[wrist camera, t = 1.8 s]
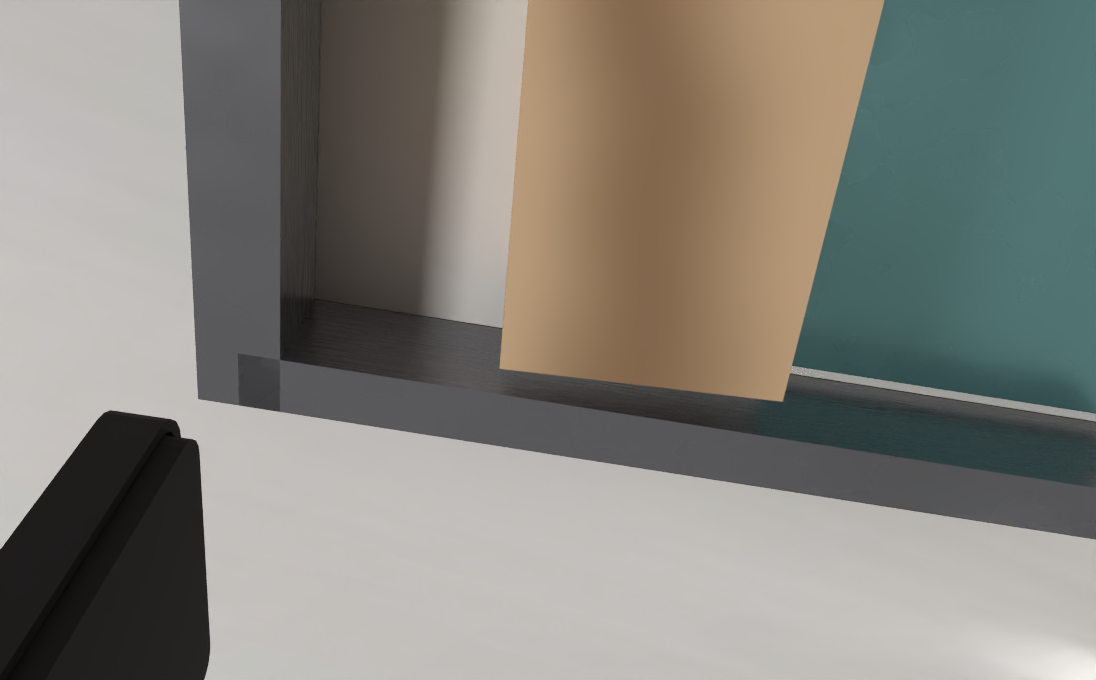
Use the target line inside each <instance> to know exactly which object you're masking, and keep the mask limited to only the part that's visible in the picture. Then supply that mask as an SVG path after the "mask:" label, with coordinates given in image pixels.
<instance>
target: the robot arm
mask: <svg viewBox="0 0 1096 680" xmlns="http://www.w3.org/2000/svg"><path fill="white" fill-rule="evenodd" d="M209 655H210V634H209V616H208V598H207V580H206V562H205V544H204V526H203V509H202V491H201V473H200V455H199V447H198V444H197V442H196V441H195V440H193V439H187V438H181V435H180V429H179V426H178V424H177V422H176V421H174V420H172V419H165V418H158V417H152V416H145V415H138V414H132V413H125V412H118V411H108V412H105V413H104V414H103V415H102V416H101V417H100V418H99V419H98V420H97V421H96V422H95V424H94V425H93V426H92V428H91V429H90V430H89V432H88V433H87V434H86V436H85V437H84V438H83V440H82V441H81V442H80V444H79V445H78V446H77V448H76V449H75V450H74V452H73V453H72V454H71V456H70V457H69V458H68V460H67V461H66V462H65V464H64V465H63V466H62V468H61V469H60V471H59V472H58V473H57V475H56V476H55V477H54V479H53V480H52V481H51V483H50V484H49V485H48V487H47V488H46V489H45V491H44V492H43V493H42V495H41V496H40V497H39V499H38V500H37V501H36V503H35V504H34V505H33V507H32V508H31V509H30V511H29V512H28V513H27V515H26V516H25V517H24V519H23V520H22V521H21V523H20V524H19V525H18V527H17V528H16V529H15V531H14V532H13V534H12V535H11V536H10V538H9V539H8V540H7V542H6V543H5V544H4V546H3V547H2V548H1V549H0V680H204V678H205V675H206V671H207V667H208V662H209Z"/></svg>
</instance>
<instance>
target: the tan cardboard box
mask: <svg viewBox="0 0 1096 680" xmlns="http://www.w3.org/2000/svg"><path fill="white" fill-rule="evenodd" d="M884 1H885V0H528V12H527V24H526V37H525V50H524V63H523V75H522V88H521V101H520V114H519V126H518V139H517V152H516V164H515V177H514V190H513V203H512V215H511V228H510V241H509V253H508V266H507V279H506V292H505V304H504V317H503V330H502V343H501V355H500V368H499V369H507V370H515V371H524V372H533V373H541V374H550V375H558V376H567V377H575V378H584V379H592V380H601V381H609V382H618V383H627V384H635V385H644V386H652V387H661V388H669V389H678V390H686V391H695V392H703V393H712V394H721V395H729V396H738V397H746V398H755V399H763V400H772V401H780V402H783V398H784V394H785V391H786V387H787V383H788V379H789V375H790V371H791V367H792V363H793V359H794V355H795V351H796V347H797V343H798V339H799V335H800V331H801V328H802V324H803V320H804V316H805V312H806V308H807V304H808V300H809V296H810V292H811V288H812V284H813V280H814V276H815V272H816V268H817V264H818V261H819V257H820V253H821V249H822V245H823V241H824V237H825V233H826V229H827V225H828V221H829V217H830V213H831V209H832V205H833V201H834V198H835V194H836V190H837V186H838V182H839V178H840V174H841V170H842V166H843V162H844V158H845V154H846V150H847V146H848V142H849V138H850V135H851V131H852V127H853V123H854V119H855V115H856V111H857V107H858V103H859V99H860V95H861V91H862V87H863V83H864V79H865V75H866V72H867V68H868V64H869V60H870V56H871V52H872V48H873V44H874V40H875V36H876V32H877V28H878V24H879V20H880V16H881V12H882V9H883V5H884Z"/></svg>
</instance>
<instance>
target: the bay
mask: <svg viewBox="0 0 1096 680" xmlns="http://www.w3.org/2000/svg"><path fill="white" fill-rule="evenodd" d="M179 10H180V30H181V51H182V72H183V93H184V113H185V134H186V155H187V175H188V196H189V217H190V238H191V258H192V279H193V300H194V320H195V341H196V362H197V383H198V399H202V400H208V401H215V402H221V403H227V404H234V405H240V406H247V407H253V408H259V409H266V410H272V411H279V412H285V413H291V414H298V415H304V416H310V417H317V418H323V419H330V420H336V421H342V422H349V423H355V424H362V425H368V426H374V427H381V428H387V429H394V430H400V431H406V432H413V433H419V434H425V435H432V436H438V437H445V438H451V439H457V440H464V441H470V442H477V443H483V444H489V445H496V446H502V447H509V448H515V449H521V450H528V451H534V452H541V453H547V454H553V455H560V456H566V457H572V458H579V459H585V460H592V461H598V462H604V463H611V464H617V465H624V466H630V467H636V468H643V469H649V470H656V471H662V472H668V473H675V474H681V475H687V476H694V477H700V478H707V479H713V480H719V481H726V482H732V483H739V484H745V485H751V486H758V487H764V488H771V489H777V490H783V491H790V492H796V493H803V494H809V495H815V496H822V497H828V498H834V499H841V500H847V501H854V502H860V503H866V504H873V505H879V506H886V507H892V508H898V509H905V510H911V511H918V512H924V513H930V514H937V515H943V516H949V517H956V518H962V519H969V520H975V521H981V522H988V523H994V524H1001V525H1007V526H1013V527H1020V528H1026V529H1033V530H1039V531H1045V532H1052V533H1058V534H1065V535H1071V536H1077V537H1084V538H1090V539H1096V422H1090V421H1084V420H1078V419H1071V418H1065V417H1059V416H1052V415H1046V414H1040V413H1033V412H1027V411H1021V410H1014V409H1008V408H1001V407H995V406H989V405H982V404H976V403H970V402H963V401H957V400H951V399H944V398H938V397H932V396H925V395H919V394H913V393H906V392H900V391H893V390H887V389H881V388H874V387H868V386H862V385H855V384H849V383H843V382H836V381H830V380H824V379H817V378H811V377H805V376H798V375H792V374H790V375H789V379H788V383H787V387H786V391H785V394H784V398H783V402H780V401H772V400H763V399H755V398H746V397H738V396H729V395H721V394H712V393H703V392H695V391H686V390H678V389H669V388H661V387H652V386H644V385H635V384H627V383H618V382H609V381H601V380H592V379H584V378H575V377H567V376H558V375H550V374H541V373H533V372H524V371H515V370H507V369H499V368H500V355H501V343H502V330H503V329H500V328H493V327H487V326H480V325H474V324H468V323H461V322H455V321H449V320H442V319H436V318H430V317H423V316H417V315H411V314H404V313H398V312H392V311H385V310H379V309H372V308H366V307H360V306H353V305H347V304H341V303H334V302H328V301H322V300H315V299H314V297H315V252H316V207H317V162H318V117H319V72H320V27H321V0H179ZM792 366H798V367H804V368H810V369H817V370H823V371H829V372H836V373H842V374H848V375H855V376H861V377H867V378H874V379H880V380H887V381H893V382H899V383H906V384H912V385H918V386H925V387H931V388H937V389H944V390H950V391H956V392H963V393H969V394H975V395H982V396H988V397H994V398H1001V399H1007V400H1014V401H1020V402H1026V403H1033V404H1039V405H1045V406H1052V407H1058V408H1064V409H1071V410H1077V411H1083V412H1090V413H1096V0H885V1H884V5H883V9H882V12H881V16H880V20H879V24H878V28H877V32H876V36H875V40H874V44H873V48H872V52H871V56H870V60H869V64H868V68H867V72H866V75H865V79H864V83H863V87H862V91H861V95H860V99H859V103H858V107H857V111H856V115H855V119H854V123H853V127H852V131H851V135H850V138H849V142H848V146H847V150H846V154H845V158H844V162H843V166H842V170H841V174H840V178H839V182H838V186H837V190H836V194H835V198H834V201H833V205H832V209H831V213H830V217H829V221H828V225H827V229H826V233H825V237H824V241H823V245H822V249H821V253H820V257H819V261H818V264H817V268H816V272H815V276H814V280H813V284H812V288H811V292H810V296H809V300H808V304H807V308H806V312H805V316H804V320H803V324H802V328H801V331H800V335H799V339H798V343H797V347H796V351H795V355H794V359H793V363H792Z"/></svg>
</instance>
